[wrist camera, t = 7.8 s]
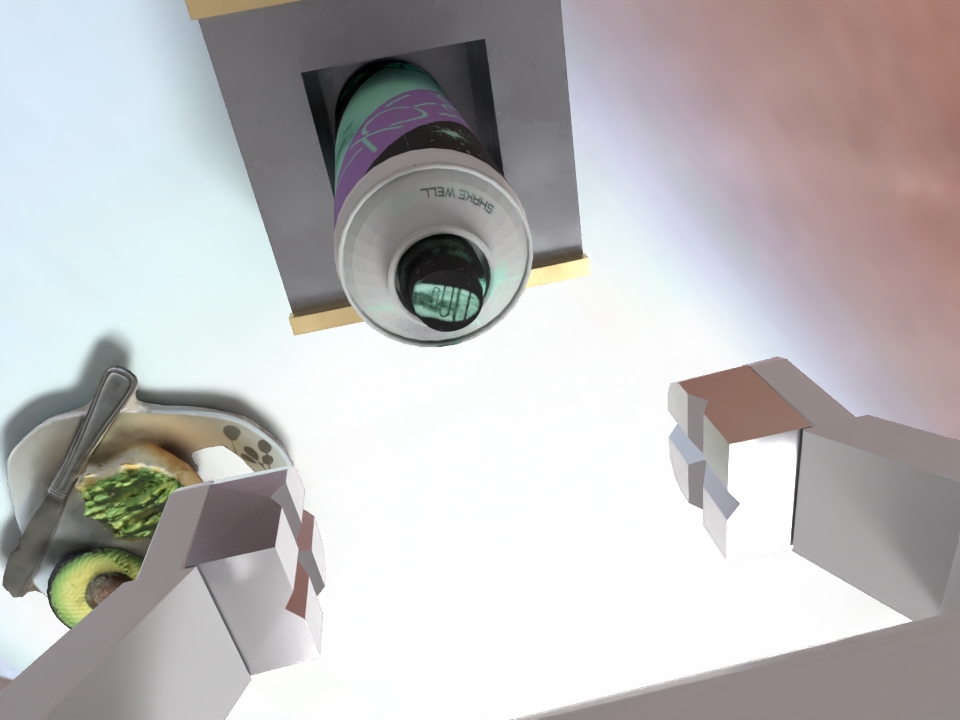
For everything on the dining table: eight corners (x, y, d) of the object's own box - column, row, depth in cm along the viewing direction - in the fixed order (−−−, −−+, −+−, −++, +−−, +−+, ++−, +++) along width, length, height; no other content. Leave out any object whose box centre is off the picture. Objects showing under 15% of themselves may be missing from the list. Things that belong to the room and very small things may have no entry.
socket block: (512, -58, 32) (560, -74, 24) (544, 216, 38) (590, 274, 30) (229, -7, 31) (182, -6, 23) (309, 263, 38) (294, 335, 30)
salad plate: (-34, 344, 37) (-83, 387, 33) (306, 362, 41) (300, 403, 37) (24, 603, 46) (-9, 662, 42) (300, 600, 49) (294, 654, 45)
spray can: (465, 149, 35) (586, 348, 18) (365, 191, 35) (392, 427, 18) (423, 38, 32) (520, 150, 15) (314, 85, 32) (289, 248, 15)
